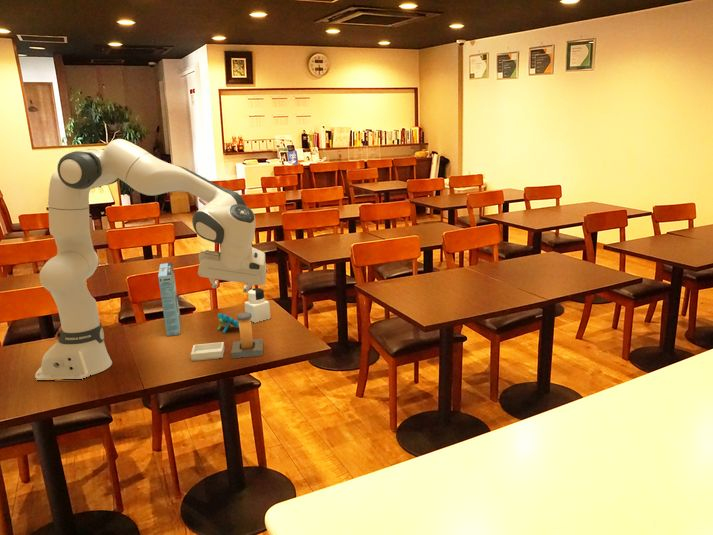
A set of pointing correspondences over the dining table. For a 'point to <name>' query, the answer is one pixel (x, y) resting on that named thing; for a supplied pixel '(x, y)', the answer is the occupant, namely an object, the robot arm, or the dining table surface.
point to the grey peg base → (248, 352)
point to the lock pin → (245, 330)
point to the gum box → (169, 299)
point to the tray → (207, 351)
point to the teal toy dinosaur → (227, 322)
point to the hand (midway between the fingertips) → (230, 288)
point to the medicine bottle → (257, 305)
